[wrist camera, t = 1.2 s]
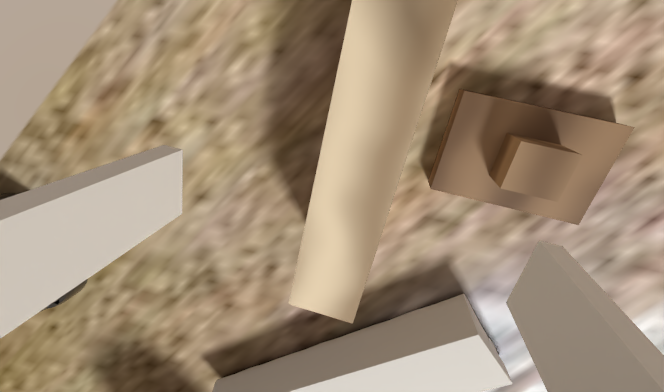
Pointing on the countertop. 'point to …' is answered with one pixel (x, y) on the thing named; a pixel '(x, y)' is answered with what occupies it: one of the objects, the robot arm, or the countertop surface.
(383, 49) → the beam
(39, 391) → the countertop surface
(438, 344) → the decorative molding
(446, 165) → the fulcrum
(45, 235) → the robot arm
